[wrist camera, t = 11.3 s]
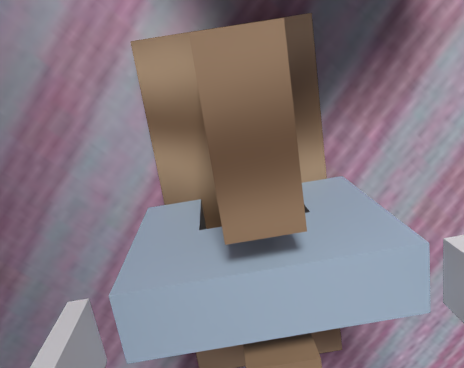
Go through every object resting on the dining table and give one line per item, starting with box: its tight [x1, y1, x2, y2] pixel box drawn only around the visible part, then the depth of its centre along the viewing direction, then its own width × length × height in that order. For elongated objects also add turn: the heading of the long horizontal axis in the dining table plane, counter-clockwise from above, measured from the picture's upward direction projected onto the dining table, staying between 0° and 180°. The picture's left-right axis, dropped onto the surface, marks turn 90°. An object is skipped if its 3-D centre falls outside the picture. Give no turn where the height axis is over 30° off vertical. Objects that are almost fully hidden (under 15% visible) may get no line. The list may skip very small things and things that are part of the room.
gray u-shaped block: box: [109, 176, 430, 364], centre depth 20 cm, size 12×3×10 cm, turn 99°
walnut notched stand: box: [130, 13, 342, 368], centre depth 20 cm, size 22×10×11 cm, turn 9°
